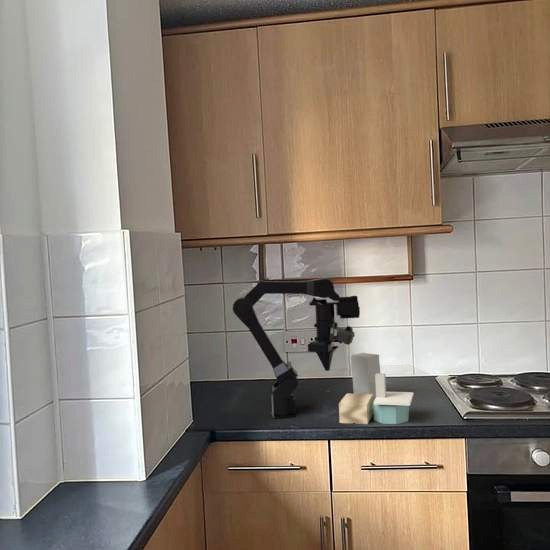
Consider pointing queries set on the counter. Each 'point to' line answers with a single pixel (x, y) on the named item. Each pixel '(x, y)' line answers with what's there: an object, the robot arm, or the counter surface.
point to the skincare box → (365, 373)
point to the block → (356, 408)
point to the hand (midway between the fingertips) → (327, 370)
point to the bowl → (391, 413)
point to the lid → (390, 393)
